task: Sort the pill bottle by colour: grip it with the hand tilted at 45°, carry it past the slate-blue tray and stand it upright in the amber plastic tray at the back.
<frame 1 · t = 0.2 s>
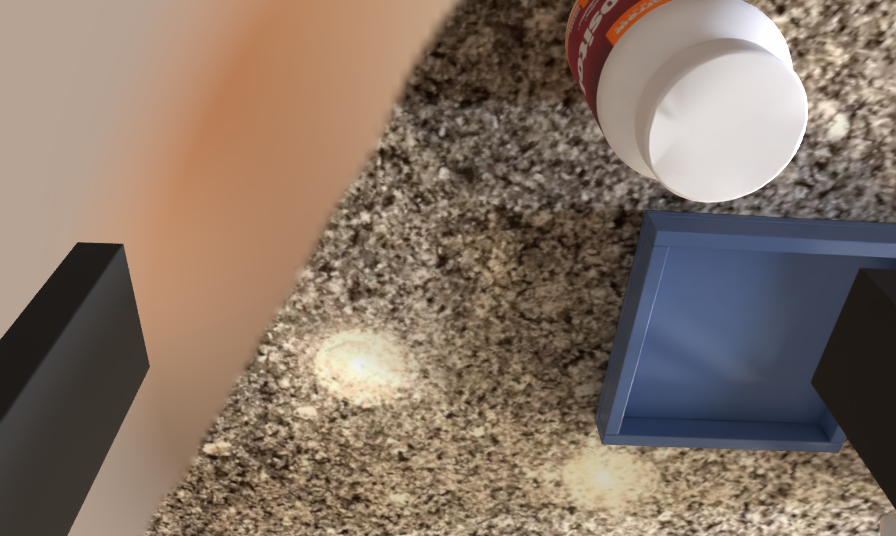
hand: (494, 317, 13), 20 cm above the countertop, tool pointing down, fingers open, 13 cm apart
pill bottle: (634, 30, 30), on the countertop
blue tray: (742, 329, 38), on the countertop
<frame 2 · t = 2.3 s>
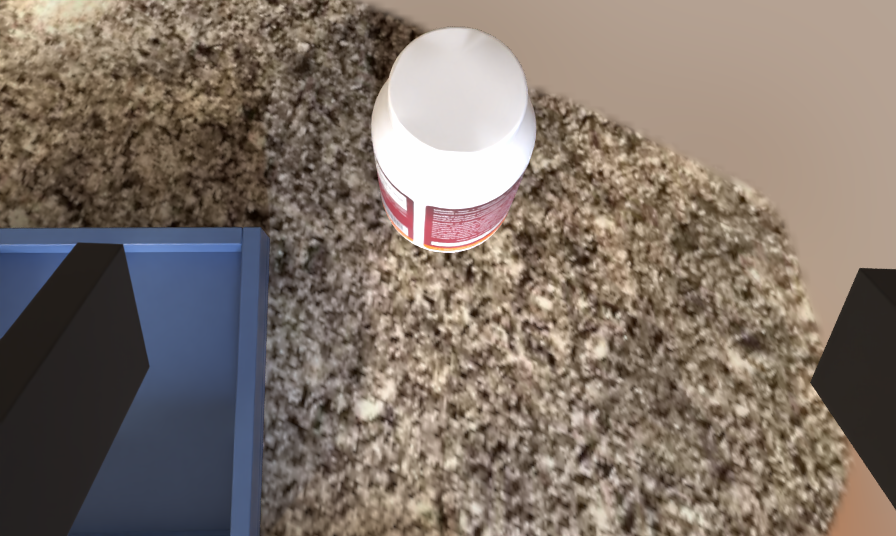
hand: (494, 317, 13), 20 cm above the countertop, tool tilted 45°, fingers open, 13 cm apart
pill bottle: (445, 193, 35), on the countertop
blue tray: (109, 388, 32), on the countertop
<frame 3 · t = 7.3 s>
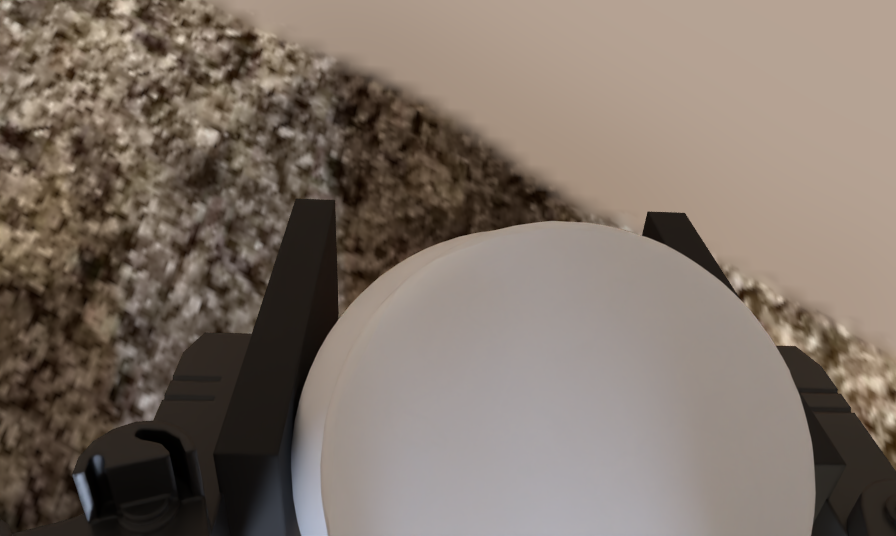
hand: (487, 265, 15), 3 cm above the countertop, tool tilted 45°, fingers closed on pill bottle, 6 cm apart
pill bottle: (469, 441, 18), on the countertop, touching gripper
when the fingers open (4 cm above the countertop, at t = 17.2 s): pill bottle stays where it is, resting on amber tray.
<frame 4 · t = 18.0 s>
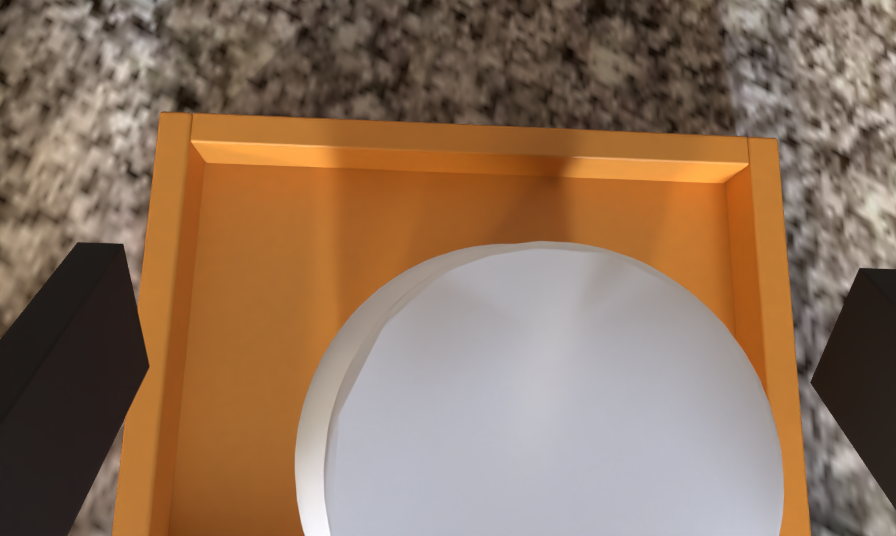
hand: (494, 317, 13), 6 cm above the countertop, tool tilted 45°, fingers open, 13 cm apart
amber tray: (464, 441, 18), on the countertop
pill bottle: (466, 444, 18), resting on amber tray
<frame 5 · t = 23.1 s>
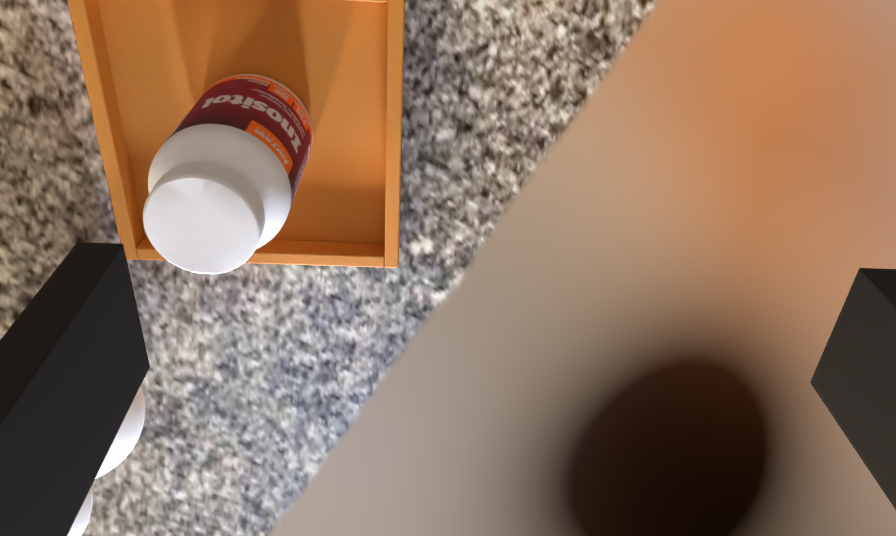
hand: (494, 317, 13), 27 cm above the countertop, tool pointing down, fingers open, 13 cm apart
amber tray: (257, 121, 39), on the countertop
vase: (80, 357, 48), on the countertop
pill bottle: (256, 125, 39), resting on amber tray
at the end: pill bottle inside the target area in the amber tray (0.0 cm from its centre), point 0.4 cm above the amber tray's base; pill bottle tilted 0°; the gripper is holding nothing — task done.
